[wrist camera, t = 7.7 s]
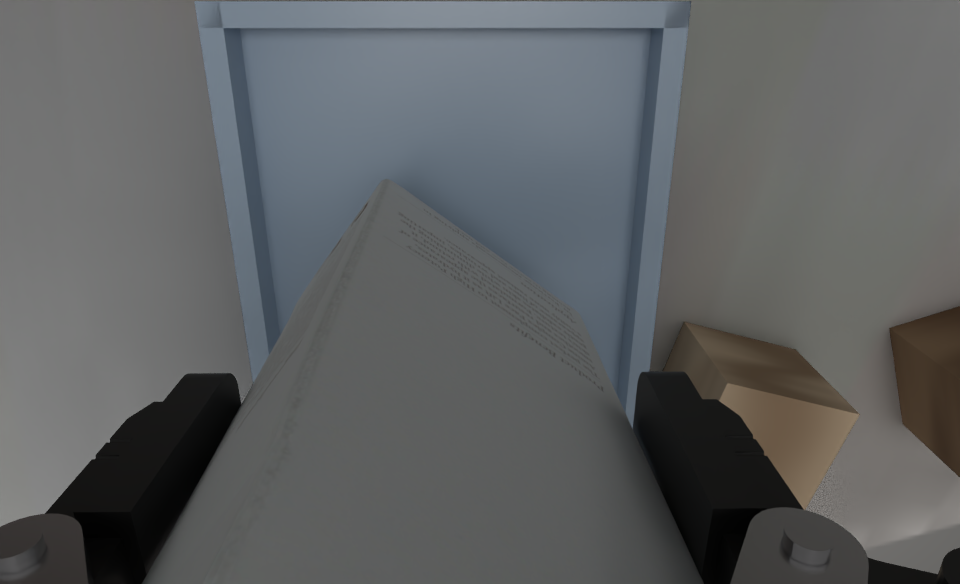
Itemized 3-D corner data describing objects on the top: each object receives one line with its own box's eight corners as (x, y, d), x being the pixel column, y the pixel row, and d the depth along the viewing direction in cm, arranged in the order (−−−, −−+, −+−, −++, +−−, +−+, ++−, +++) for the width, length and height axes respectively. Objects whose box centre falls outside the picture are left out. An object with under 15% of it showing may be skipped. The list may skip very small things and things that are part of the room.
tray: (668, 3, 18) (691, 1, 16) (624, 436, 23) (637, 473, 21) (224, 3, 18) (194, 1, 16) (283, 439, 23) (267, 475, 21)
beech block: (794, 348, 22) (860, 414, 18) (745, 444, 23) (797, 523, 20) (683, 320, 21) (727, 383, 18) (640, 420, 23) (673, 497, 19)
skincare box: (292, 307, 16) (-119, 959, 5) (392, 161, 15) (143, 595, 4) (491, 430, 18) (528, 1148, 6) (599, 307, 16) (887, 944, 5)
